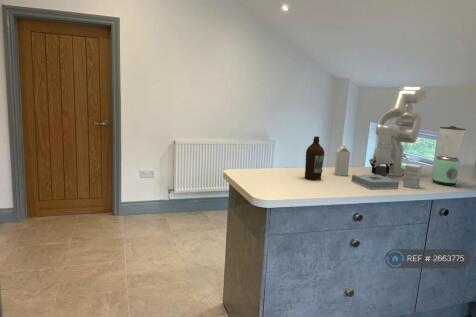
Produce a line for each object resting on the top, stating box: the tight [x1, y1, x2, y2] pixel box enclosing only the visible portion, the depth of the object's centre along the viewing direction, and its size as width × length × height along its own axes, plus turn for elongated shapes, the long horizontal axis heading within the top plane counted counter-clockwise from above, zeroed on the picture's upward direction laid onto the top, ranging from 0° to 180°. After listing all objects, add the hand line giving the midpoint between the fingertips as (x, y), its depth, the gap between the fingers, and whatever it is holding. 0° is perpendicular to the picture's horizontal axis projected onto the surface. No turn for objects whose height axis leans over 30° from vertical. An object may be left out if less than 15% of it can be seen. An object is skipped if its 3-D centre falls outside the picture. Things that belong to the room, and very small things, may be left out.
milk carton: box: [333, 144, 351, 177], centre depth 229 cm, size 7×7×19 cm
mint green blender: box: [431, 125, 466, 186], centre depth 219 cm, size 19×13×35 cm
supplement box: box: [402, 163, 423, 190], centre depth 207 cm, size 7×7×13 cm
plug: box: [374, 164, 387, 177], centre depth 224 cm, size 4×4×8 cm
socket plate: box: [351, 173, 400, 190], centre depth 206 cm, size 18×18×5 cm
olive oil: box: [304, 135, 325, 181], centre depth 212 cm, size 11×11×25 cm
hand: (380, 173), depth 224 cm, fingers open, 9 cm apart
